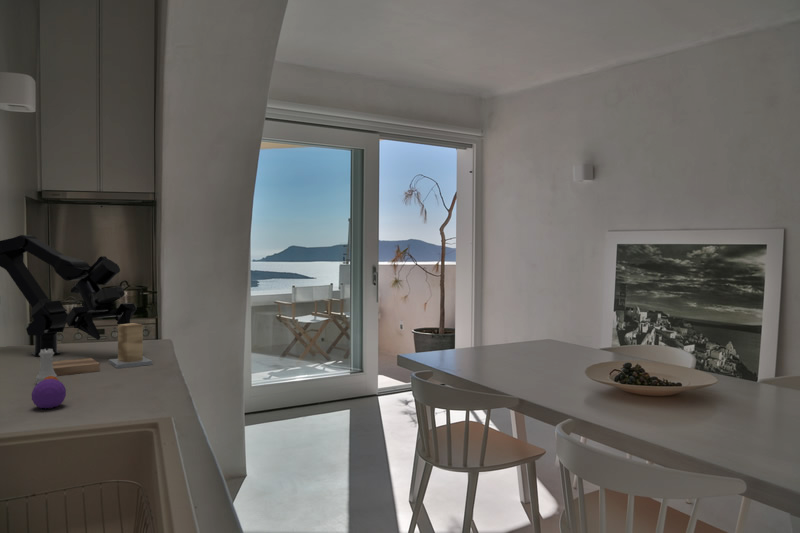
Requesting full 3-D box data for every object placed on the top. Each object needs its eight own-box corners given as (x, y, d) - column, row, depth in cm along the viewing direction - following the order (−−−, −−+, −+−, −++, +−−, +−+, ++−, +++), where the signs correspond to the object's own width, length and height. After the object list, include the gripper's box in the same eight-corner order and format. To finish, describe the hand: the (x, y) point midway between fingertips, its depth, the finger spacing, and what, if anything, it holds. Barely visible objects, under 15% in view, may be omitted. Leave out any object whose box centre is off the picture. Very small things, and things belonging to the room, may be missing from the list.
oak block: (118, 360, 161) (118, 324, 161) (132, 358, 165) (132, 323, 164) (127, 362, 159) (127, 326, 158) (142, 359, 162) (142, 324, 162)
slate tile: (108, 363, 162) (108, 359, 162) (142, 359, 168) (142, 356, 168) (117, 368, 155) (117, 364, 155) (152, 364, 161) (152, 361, 161)
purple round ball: (68, 371, 134) (69, 382, 116) (62, 397, 133) (62, 412, 116) (38, 368, 131) (34, 379, 114) (32, 395, 130) (27, 410, 113)
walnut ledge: (44, 369, 152) (44, 362, 152) (90, 364, 159) (90, 357, 159) (51, 376, 145) (51, 368, 145) (99, 371, 152) (99, 363, 152)
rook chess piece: (61, 381, 140) (61, 348, 140) (48, 385, 136) (48, 351, 135) (44, 380, 140) (44, 347, 140) (31, 384, 136) (30, 350, 136)
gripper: (72, 278, 159) (95, 321, 153) (133, 276, 175) (156, 316, 170) (55, 304, 163) (77, 347, 158) (117, 300, 179) (139, 339, 174)
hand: (114, 336), depth 165 cm, fingers open, 9 cm apart
